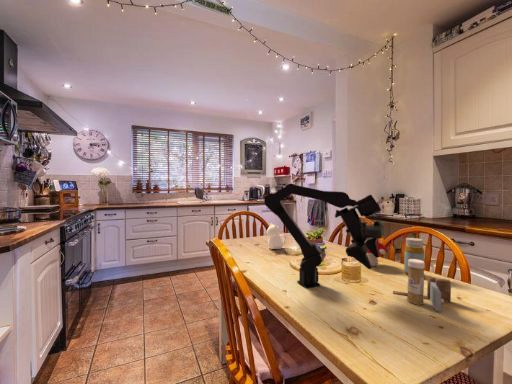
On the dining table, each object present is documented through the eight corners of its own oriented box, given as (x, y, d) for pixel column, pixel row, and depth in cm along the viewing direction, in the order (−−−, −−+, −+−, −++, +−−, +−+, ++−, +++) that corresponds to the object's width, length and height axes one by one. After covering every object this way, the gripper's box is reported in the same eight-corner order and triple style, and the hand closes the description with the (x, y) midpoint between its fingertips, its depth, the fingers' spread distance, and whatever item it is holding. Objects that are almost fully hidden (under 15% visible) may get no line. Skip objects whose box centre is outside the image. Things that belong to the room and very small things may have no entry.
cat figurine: (263, 248, 153) (263, 223, 152) (281, 245, 158) (281, 221, 158) (271, 251, 145) (270, 225, 144) (289, 248, 150) (289, 223, 149)
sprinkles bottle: (404, 300, 82) (405, 259, 82) (412, 297, 85) (412, 257, 84) (419, 306, 78) (420, 263, 78) (426, 303, 81) (427, 261, 80)
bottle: (422, 272, 109) (422, 238, 108) (425, 278, 103) (425, 241, 102) (403, 270, 112) (403, 236, 111) (405, 275, 105) (405, 239, 105)
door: (430, 298, 83) (430, 282, 83) (437, 300, 82) (438, 283, 82) (435, 310, 75) (436, 292, 75) (444, 312, 74) (444, 293, 74)
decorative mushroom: (395, 269, 113) (396, 236, 113) (367, 271, 111) (367, 237, 111) (376, 260, 127) (376, 230, 127) (350, 261, 125) (350, 231, 125)
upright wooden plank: (448, 300, 83) (449, 279, 83) (450, 302, 81) (451, 281, 81) (392, 291, 90) (393, 272, 90) (393, 293, 88) (393, 274, 88)
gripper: (365, 225, 80) (390, 271, 78) (381, 208, 93) (402, 247, 92) (335, 234, 87) (357, 276, 86) (354, 218, 101) (373, 253, 99)
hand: (374, 262), depth 90 cm, fingers open, 9 cm apart
